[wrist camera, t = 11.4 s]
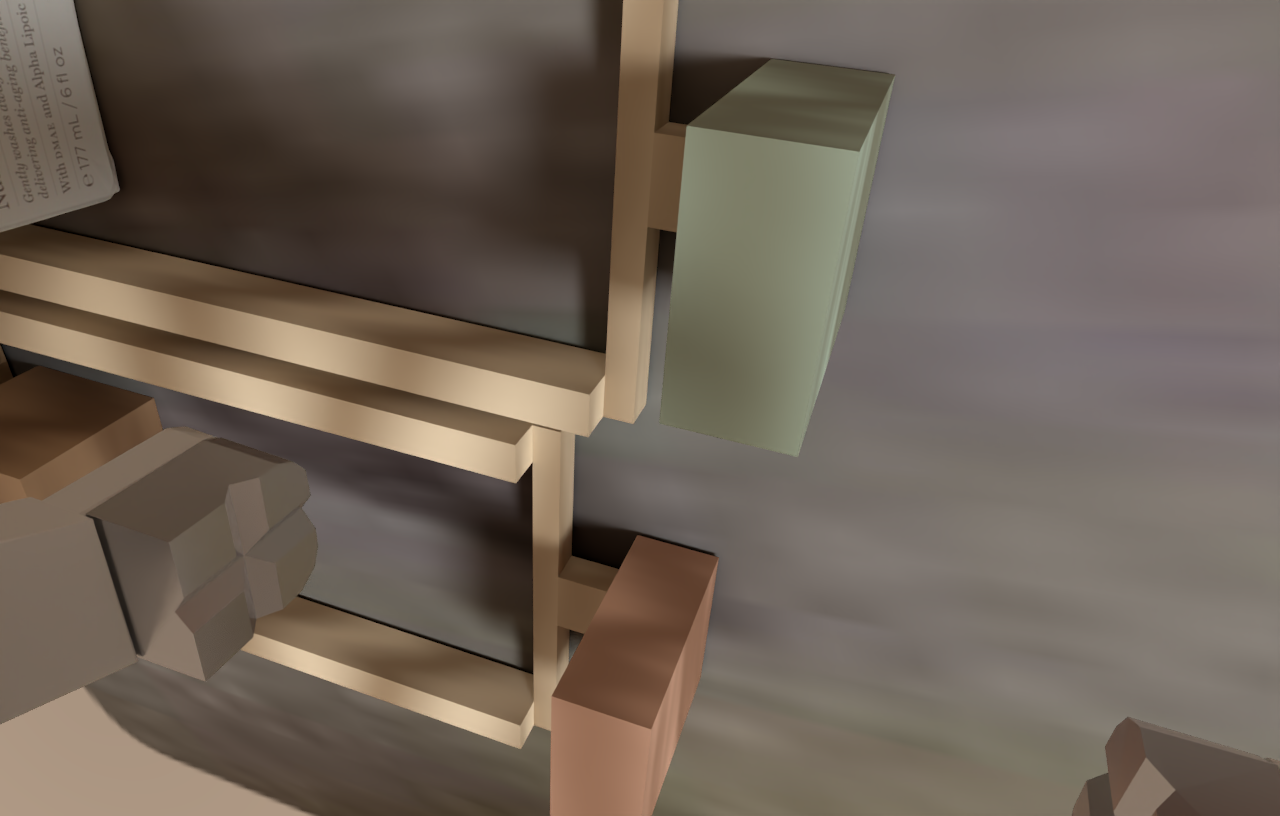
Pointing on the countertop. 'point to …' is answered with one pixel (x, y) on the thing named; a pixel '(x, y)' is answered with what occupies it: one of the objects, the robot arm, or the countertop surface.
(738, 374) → the frame
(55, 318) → the frame
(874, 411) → the countertop surface
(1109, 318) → the countertop surface
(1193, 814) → the robot arm
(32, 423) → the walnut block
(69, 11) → the skincare box
